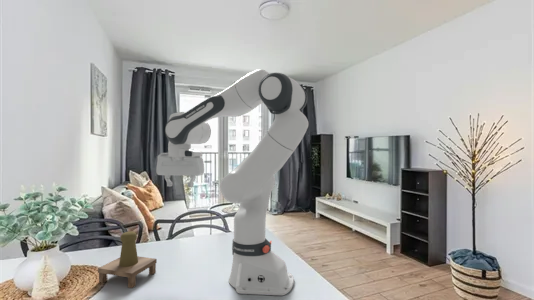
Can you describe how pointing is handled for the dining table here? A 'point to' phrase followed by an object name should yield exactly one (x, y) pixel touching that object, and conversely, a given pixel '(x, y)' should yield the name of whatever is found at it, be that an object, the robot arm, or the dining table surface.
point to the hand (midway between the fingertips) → (180, 186)
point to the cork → (128, 249)
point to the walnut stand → (127, 270)
